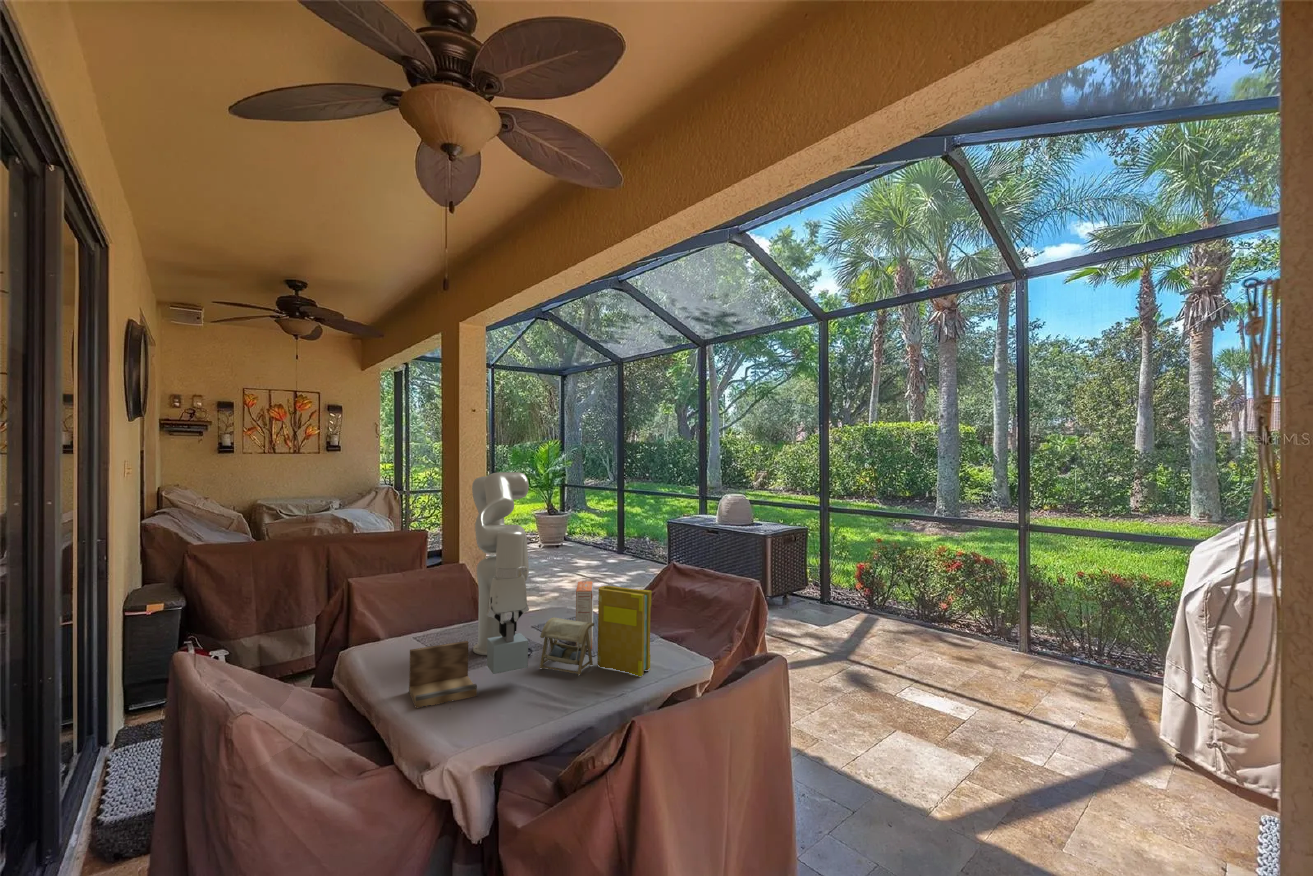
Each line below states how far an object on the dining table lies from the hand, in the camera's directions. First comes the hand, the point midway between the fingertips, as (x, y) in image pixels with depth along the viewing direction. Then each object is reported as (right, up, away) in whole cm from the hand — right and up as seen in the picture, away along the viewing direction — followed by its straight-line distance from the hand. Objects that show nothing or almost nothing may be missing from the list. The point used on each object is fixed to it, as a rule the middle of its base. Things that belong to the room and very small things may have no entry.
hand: (507, 634), depth 171 cm
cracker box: (+18, -16, +38) cm, 45 cm away
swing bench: (+15, -16, +15) cm, 27 cm away
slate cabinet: (0, -9, 0) cm, 9 cm away
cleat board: (-17, -15, -6) cm, 23 cm away
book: (+32, -16, +15) cm, 39 cm away
